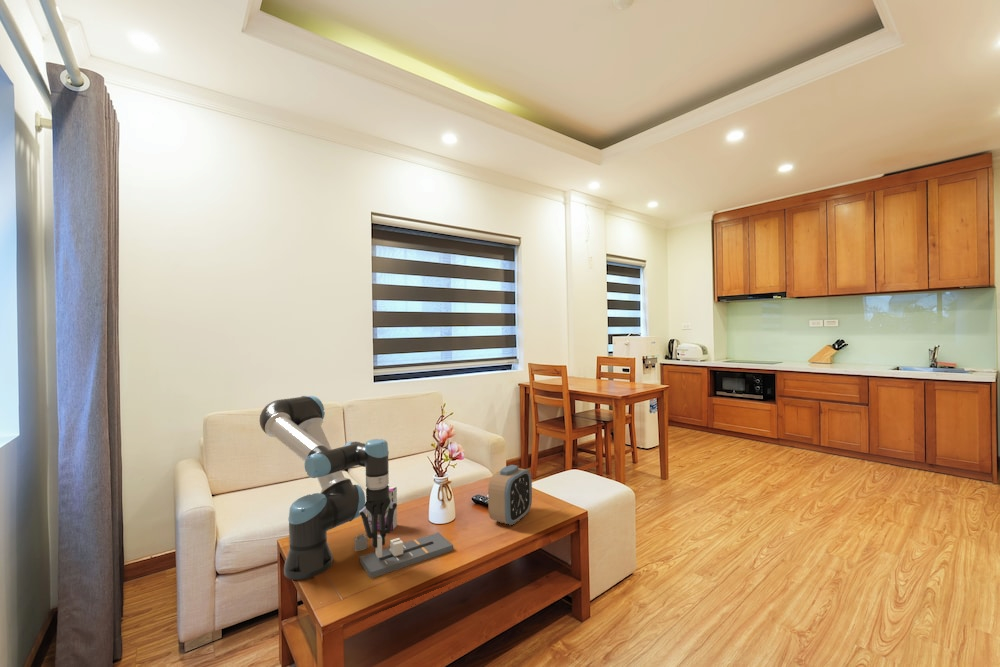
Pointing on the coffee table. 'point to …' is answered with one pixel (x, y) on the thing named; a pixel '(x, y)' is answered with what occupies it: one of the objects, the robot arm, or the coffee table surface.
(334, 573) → the coffee table surface
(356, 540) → the lighter
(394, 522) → the candy bar box
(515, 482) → the alarm clock
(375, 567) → the console
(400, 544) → the fader knob
